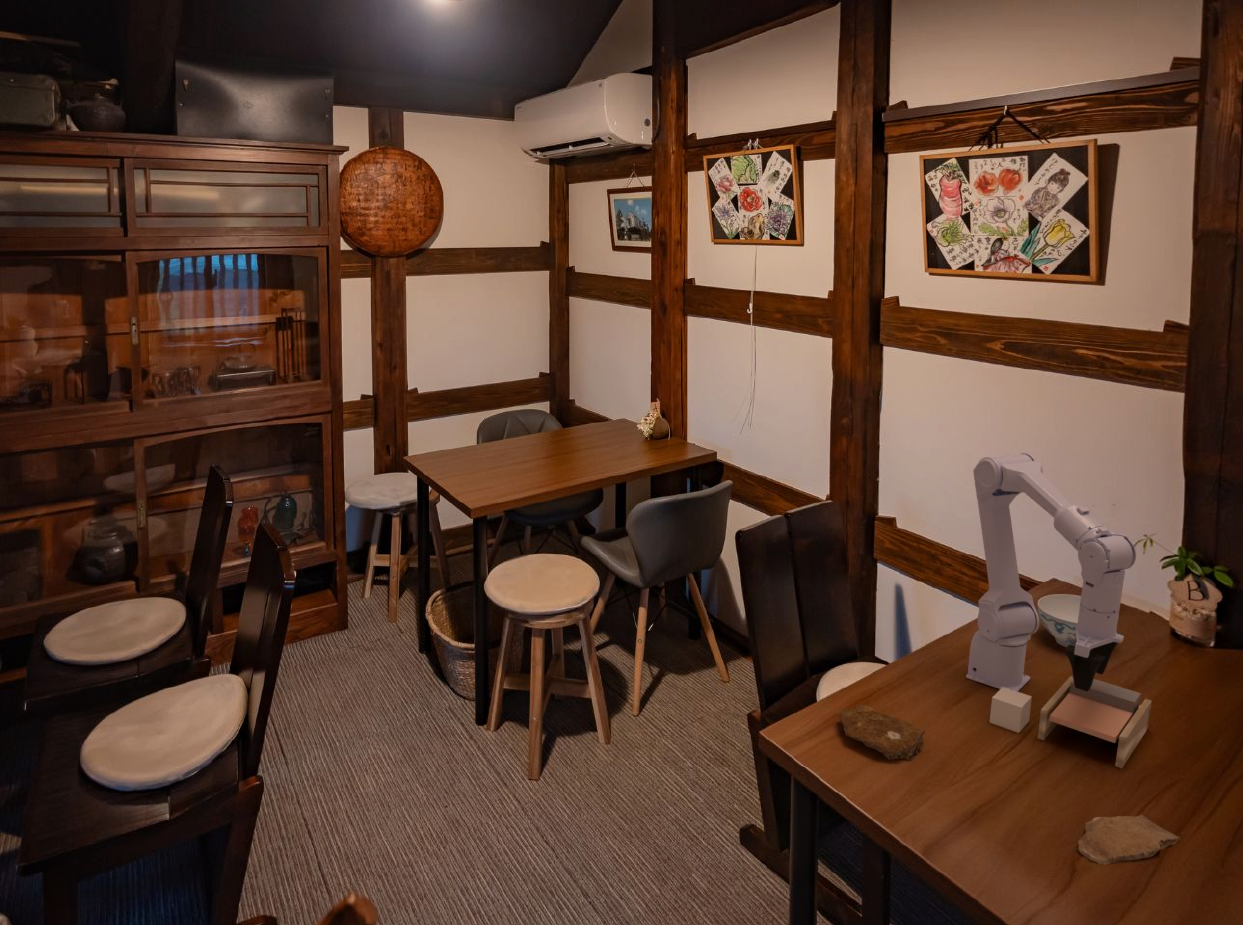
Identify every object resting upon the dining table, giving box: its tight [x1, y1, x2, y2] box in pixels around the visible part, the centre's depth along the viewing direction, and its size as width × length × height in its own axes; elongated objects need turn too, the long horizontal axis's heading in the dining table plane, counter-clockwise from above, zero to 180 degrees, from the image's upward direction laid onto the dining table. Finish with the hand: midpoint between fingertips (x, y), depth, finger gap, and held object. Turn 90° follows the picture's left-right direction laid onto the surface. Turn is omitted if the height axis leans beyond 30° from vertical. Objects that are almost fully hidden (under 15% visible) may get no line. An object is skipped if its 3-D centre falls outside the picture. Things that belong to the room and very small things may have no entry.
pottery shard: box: [1077, 814, 1181, 866], centre depth 124 cm, size 8×3×15 cm
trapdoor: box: [1049, 678, 1142, 744], centre depth 148 cm, size 10×14×3 cm
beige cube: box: [989, 687, 1033, 734], centre depth 153 cm, size 5×5×5 cm
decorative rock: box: [837, 704, 926, 761], centre depth 149 cm, size 11×4×15 cm
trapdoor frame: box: [1037, 675, 1152, 769], centre depth 149 cm, size 13×16×6 cm
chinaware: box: [1037, 593, 1120, 648], centre depth 182 cm, size 15×15×8 cm
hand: (1089, 680), depth 147 cm, fingers open, 7 cm apart
